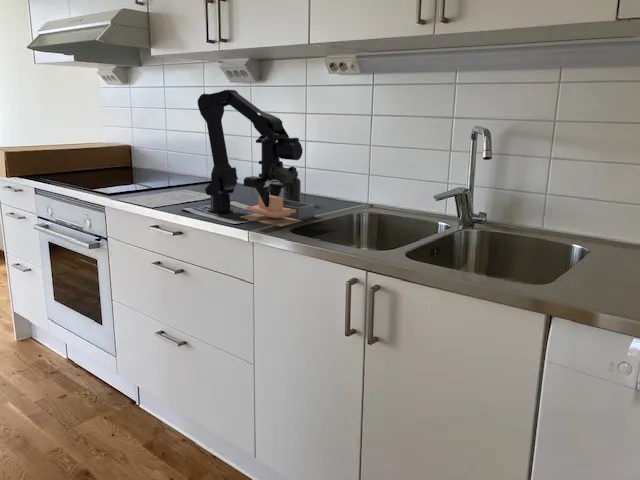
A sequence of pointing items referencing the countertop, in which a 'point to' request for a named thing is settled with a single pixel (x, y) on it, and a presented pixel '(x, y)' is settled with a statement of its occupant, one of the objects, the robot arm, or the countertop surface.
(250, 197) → the countertop surface
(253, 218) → the light wood flat board
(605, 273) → the countertop surface
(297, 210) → the storage box
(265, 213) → the lid
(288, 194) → the supplement bottle
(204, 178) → the countertop surface
